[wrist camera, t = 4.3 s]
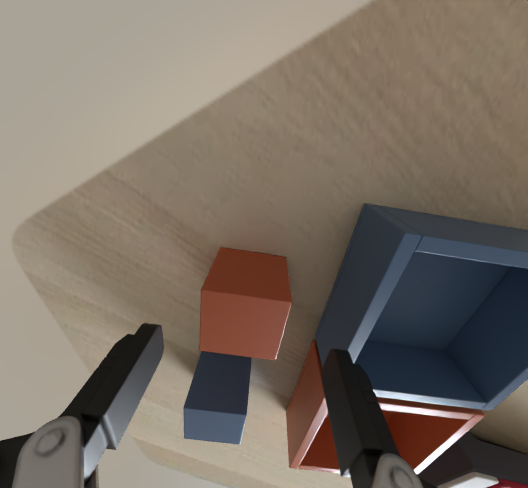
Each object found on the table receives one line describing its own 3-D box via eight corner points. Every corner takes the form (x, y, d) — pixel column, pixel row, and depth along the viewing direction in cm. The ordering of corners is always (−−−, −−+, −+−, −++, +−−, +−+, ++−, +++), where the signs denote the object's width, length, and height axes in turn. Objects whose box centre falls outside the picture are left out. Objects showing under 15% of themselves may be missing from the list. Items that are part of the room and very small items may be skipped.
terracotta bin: (285, 411, 24) (289, 468, 20) (312, 339, 19) (324, 396, 15) (387, 423, 24) (410, 481, 20) (440, 356, 19) (486, 415, 15)
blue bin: (314, 334, 18) (327, 391, 14) (364, 203, 13) (405, 232, 9) (444, 352, 19) (491, 411, 15) (540, 232, 14) (653, 271, 10)
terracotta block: (216, 298, 17) (199, 351, 13) (220, 246, 15) (201, 289, 11) (274, 306, 17) (276, 360, 13) (286, 256, 15) (292, 302, 11)
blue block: (200, 381, 22) (183, 438, 18) (201, 351, 20) (183, 408, 16) (245, 386, 22) (239, 444, 18) (251, 357, 20) (246, 415, 16)
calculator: (481, 527, 28) (395, 513, 24) (454, 479, 32) (377, 461, 28) (570, 501, 23) (481, 480, 20) (527, 449, 27) (446, 423, 24)
